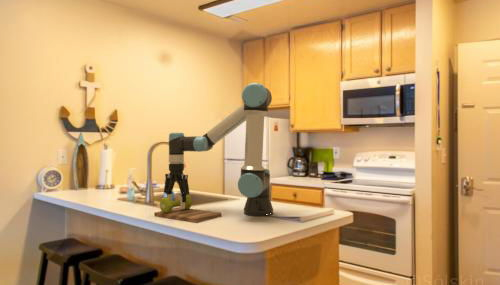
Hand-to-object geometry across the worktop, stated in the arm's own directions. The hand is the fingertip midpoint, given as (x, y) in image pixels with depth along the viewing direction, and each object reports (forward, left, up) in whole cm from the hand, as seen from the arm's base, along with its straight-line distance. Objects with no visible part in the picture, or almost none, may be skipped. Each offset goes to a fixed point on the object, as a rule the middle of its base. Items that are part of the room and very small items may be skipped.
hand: (176, 207), depth 187 cm
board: (-8, 0, -3) cm, 9 cm away
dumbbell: (0, 0, -2) cm, 2 cm away
